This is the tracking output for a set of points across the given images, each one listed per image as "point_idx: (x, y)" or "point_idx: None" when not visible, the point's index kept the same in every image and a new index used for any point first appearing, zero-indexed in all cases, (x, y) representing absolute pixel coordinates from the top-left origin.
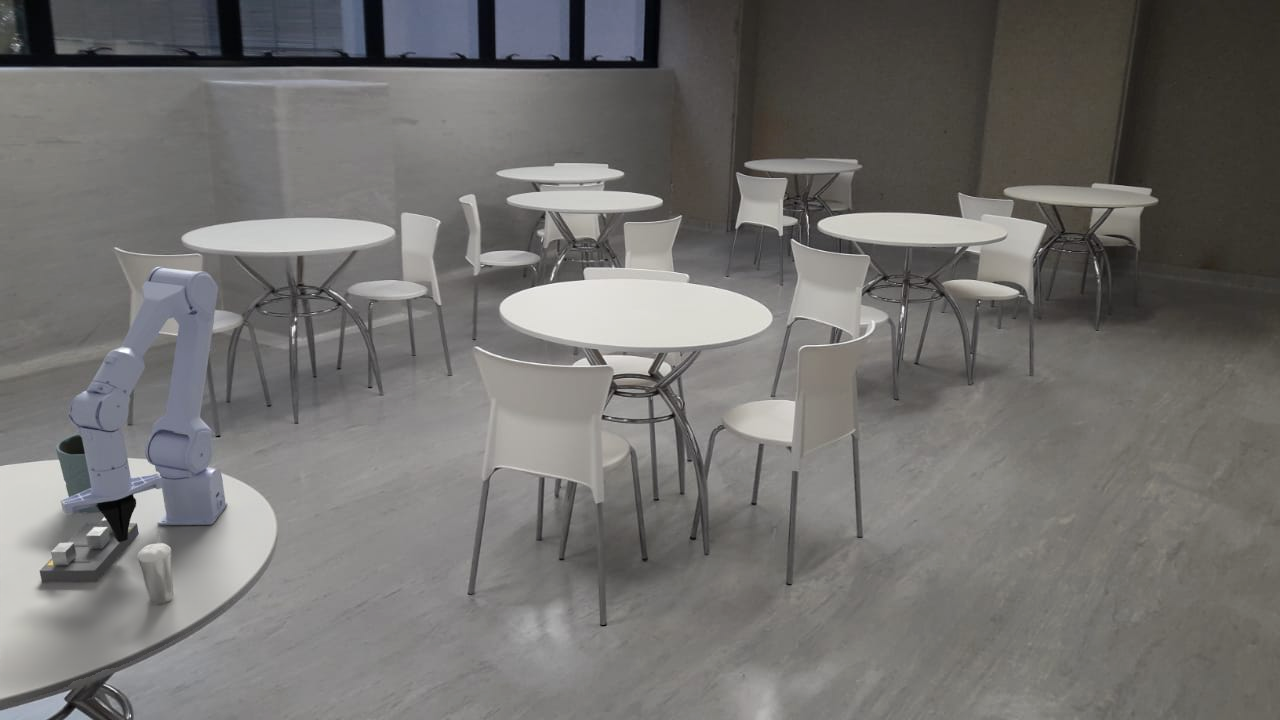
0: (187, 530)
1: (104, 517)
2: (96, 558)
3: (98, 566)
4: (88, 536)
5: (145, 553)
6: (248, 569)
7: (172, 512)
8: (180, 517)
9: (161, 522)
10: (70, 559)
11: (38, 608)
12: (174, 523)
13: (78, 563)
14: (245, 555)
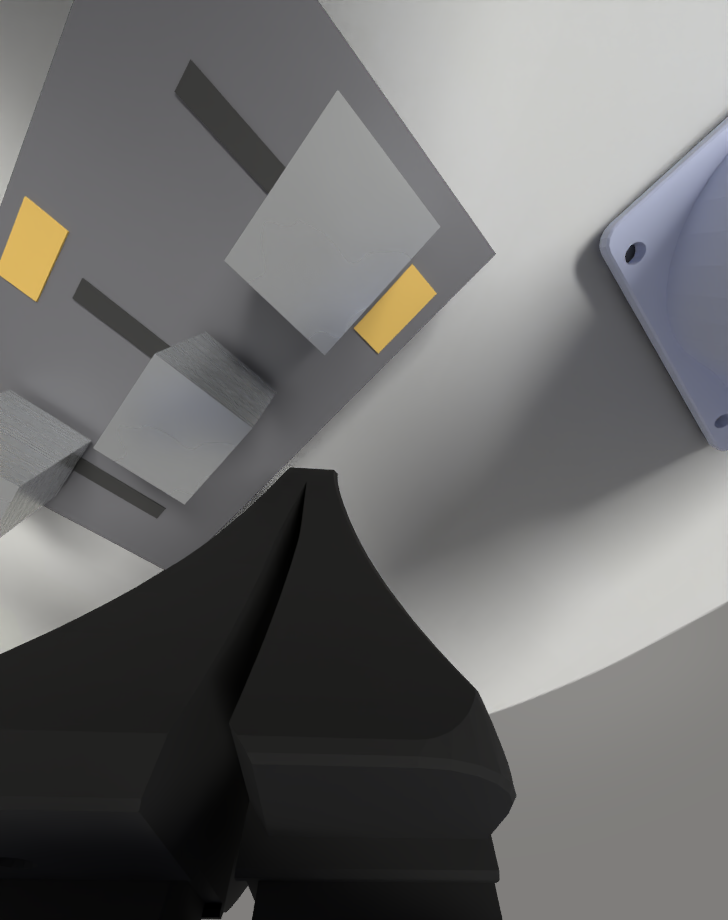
0: (626, 410)
1: (263, 214)
2: (188, 503)
3: None
4: (115, 453)
5: None
6: (533, 691)
7: (723, 304)
8: (701, 345)
9: (622, 255)
10: (57, 483)
11: (15, 563)
12: (647, 324)
13: (108, 494)
14: (581, 650)
